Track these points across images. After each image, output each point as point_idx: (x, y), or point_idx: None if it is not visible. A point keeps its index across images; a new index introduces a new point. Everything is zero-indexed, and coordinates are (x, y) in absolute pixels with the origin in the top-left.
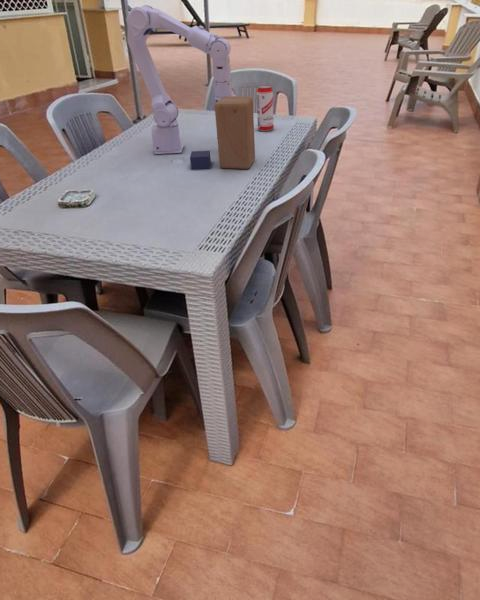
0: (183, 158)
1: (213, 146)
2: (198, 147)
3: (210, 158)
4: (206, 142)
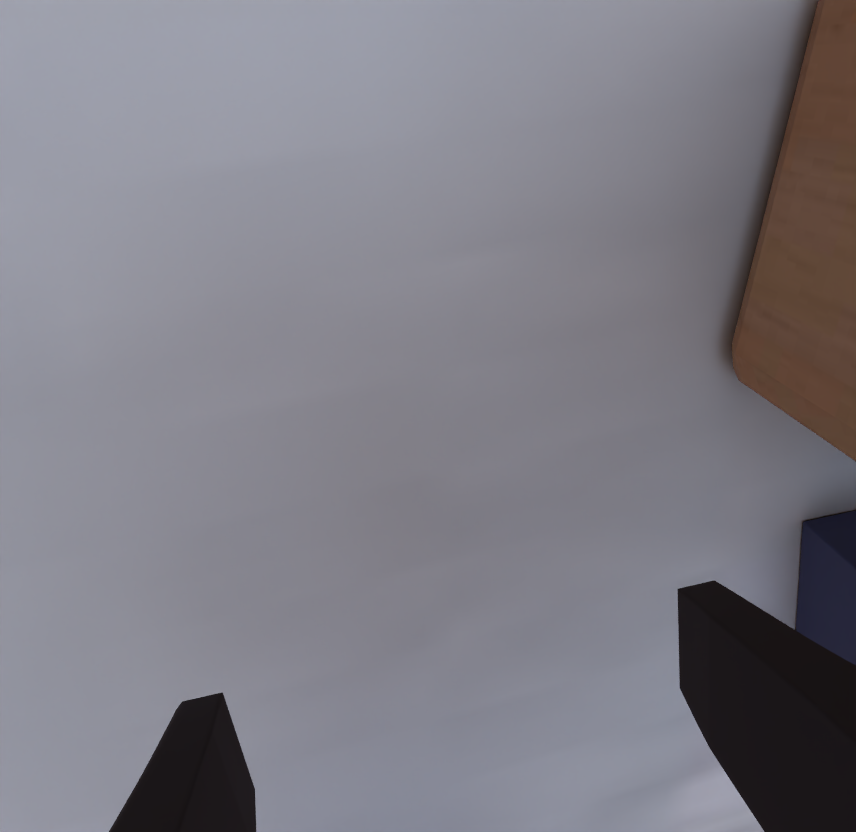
0: (631, 793)
1: (210, 648)
2: (267, 783)
3: (846, 545)
4: (51, 765)
